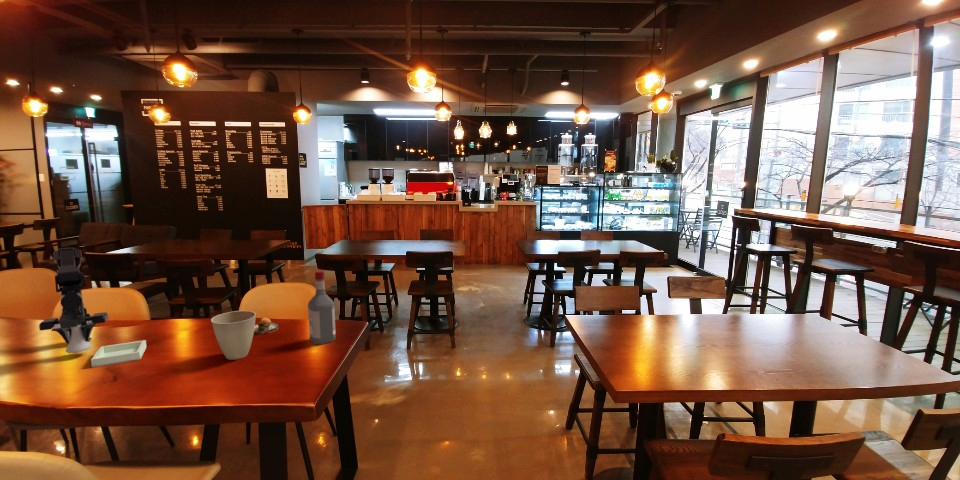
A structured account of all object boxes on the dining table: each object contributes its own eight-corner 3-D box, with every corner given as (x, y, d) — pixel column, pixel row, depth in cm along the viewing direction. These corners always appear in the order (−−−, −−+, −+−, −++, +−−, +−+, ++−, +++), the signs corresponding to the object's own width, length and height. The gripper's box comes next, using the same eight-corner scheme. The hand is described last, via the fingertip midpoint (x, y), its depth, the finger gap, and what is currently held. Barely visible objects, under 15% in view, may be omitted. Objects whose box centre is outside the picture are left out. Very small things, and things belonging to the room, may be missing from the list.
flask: (76, 354, 162) (72, 329, 161) (61, 352, 164) (57, 327, 162) (96, 347, 169) (93, 322, 168) (81, 345, 171) (78, 321, 169)
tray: (101, 353, 168) (101, 346, 168) (146, 347, 175) (145, 340, 175) (91, 367, 156) (90, 359, 156) (140, 359, 163) (139, 352, 163)
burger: (270, 324, 204) (269, 309, 203) (283, 329, 197) (282, 313, 196) (244, 331, 194) (243, 315, 193) (257, 337, 187) (256, 320, 186)
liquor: (316, 346, 177) (312, 275, 173) (308, 339, 184) (304, 271, 180) (337, 340, 183) (334, 271, 179) (329, 334, 190) (325, 268, 186)
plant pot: (205, 360, 163) (201, 320, 160) (239, 346, 176) (236, 309, 174) (234, 366, 158) (231, 325, 155) (267, 351, 171) (264, 313, 169)
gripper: (30, 312, 152) (36, 354, 154) (99, 305, 161) (104, 344, 164) (42, 304, 162) (48, 344, 164) (106, 298, 171) (111, 335, 173)
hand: (78, 342), depth 166 cm, fingers closed on flask, 5 cm apart
